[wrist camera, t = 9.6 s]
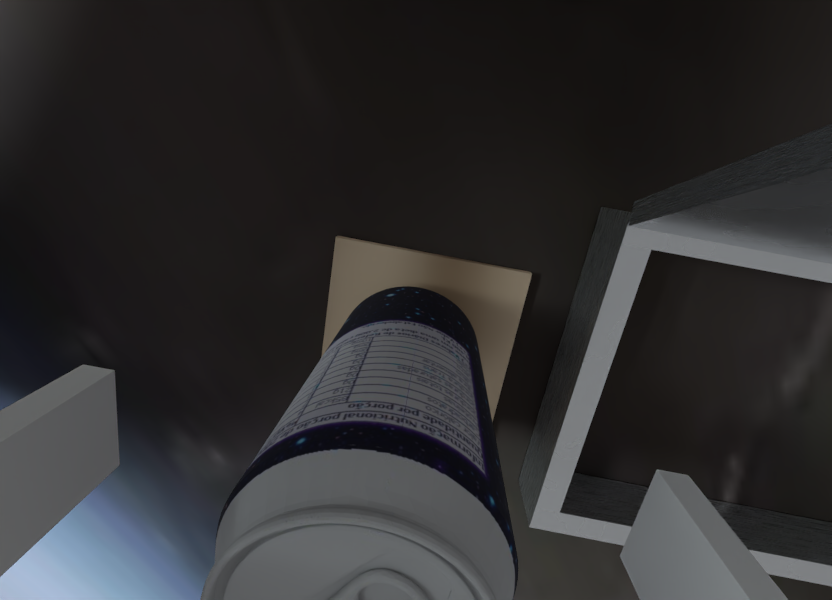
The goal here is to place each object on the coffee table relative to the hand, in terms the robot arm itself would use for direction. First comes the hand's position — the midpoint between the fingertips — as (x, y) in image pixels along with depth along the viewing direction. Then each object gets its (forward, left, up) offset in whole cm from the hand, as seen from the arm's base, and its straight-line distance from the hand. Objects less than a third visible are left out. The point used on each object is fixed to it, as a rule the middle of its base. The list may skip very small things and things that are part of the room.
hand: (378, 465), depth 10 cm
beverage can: (0, 0, -8) cm, 8 cm away
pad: (0, 0, -8) cm, 9 cm away
